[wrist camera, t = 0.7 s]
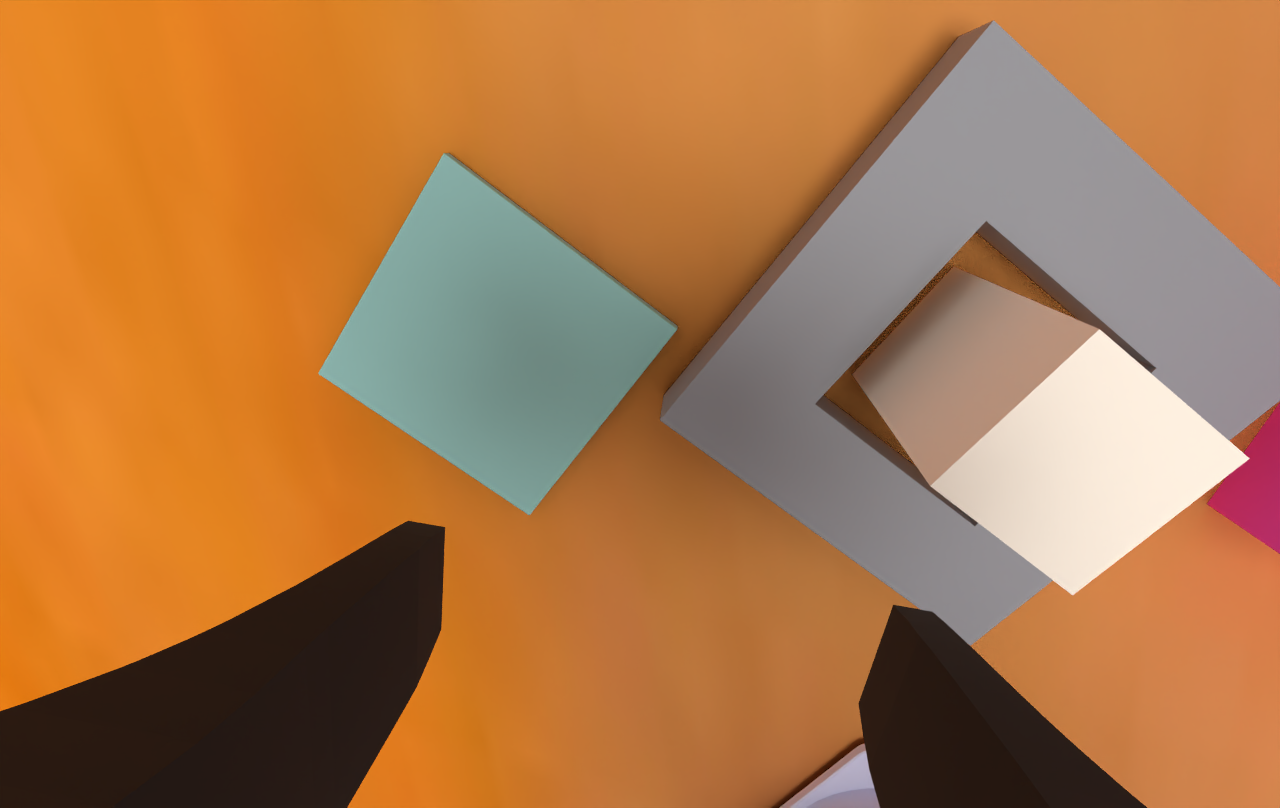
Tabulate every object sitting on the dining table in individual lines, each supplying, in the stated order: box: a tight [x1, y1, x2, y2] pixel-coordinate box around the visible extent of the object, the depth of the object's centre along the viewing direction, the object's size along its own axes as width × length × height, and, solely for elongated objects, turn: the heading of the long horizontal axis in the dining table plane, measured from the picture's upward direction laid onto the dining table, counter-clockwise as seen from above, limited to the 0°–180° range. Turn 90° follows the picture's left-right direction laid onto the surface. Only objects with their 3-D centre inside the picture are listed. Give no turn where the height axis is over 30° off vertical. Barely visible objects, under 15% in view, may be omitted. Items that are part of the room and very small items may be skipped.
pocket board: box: [660, 21, 1280, 646], centre depth 18 cm, size 12×12×2 cm
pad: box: [318, 153, 678, 515], centre depth 20 cm, size 8×8×1 cm
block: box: [852, 267, 1250, 595], centre depth 16 cm, size 4×4×7 cm
